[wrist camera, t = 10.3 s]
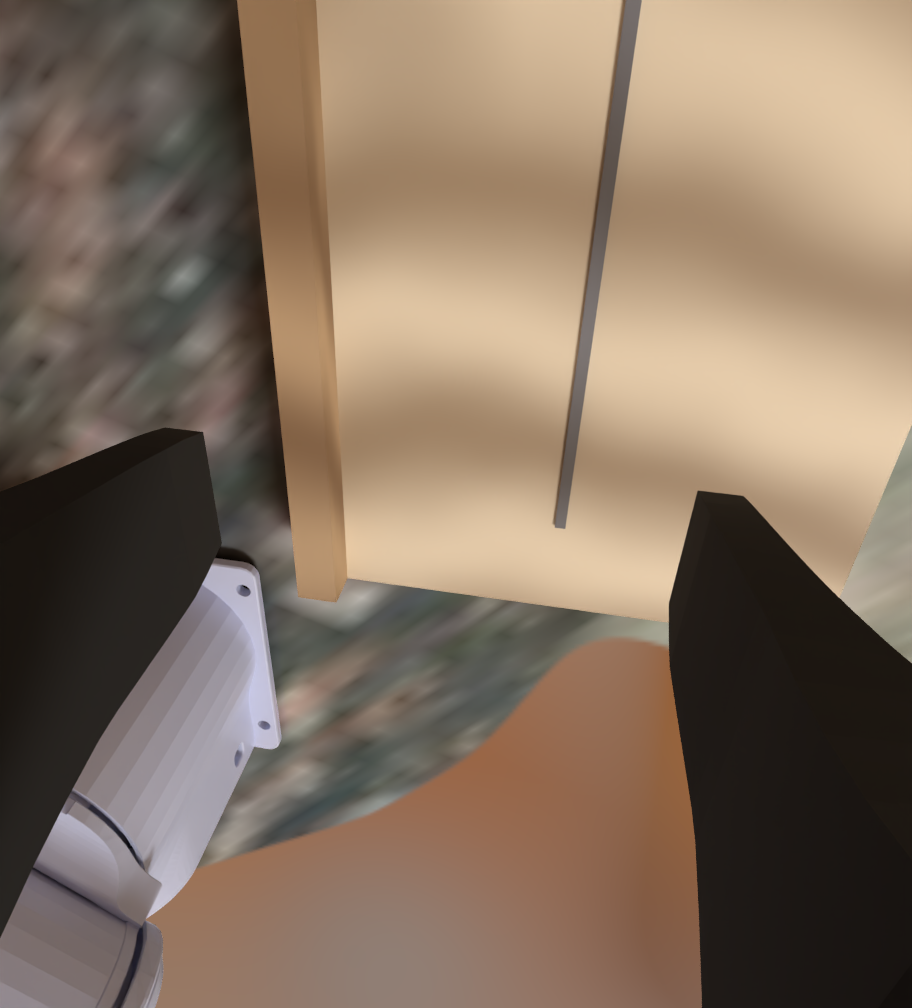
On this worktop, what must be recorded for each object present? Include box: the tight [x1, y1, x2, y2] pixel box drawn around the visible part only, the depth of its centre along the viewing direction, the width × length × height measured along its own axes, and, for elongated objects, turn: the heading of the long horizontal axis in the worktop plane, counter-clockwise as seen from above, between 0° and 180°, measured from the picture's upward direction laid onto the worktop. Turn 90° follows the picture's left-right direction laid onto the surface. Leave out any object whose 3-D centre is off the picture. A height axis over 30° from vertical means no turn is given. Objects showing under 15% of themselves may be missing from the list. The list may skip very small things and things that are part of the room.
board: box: [237, 0, 912, 622], centre depth 17 cm, size 22×16×3 cm
